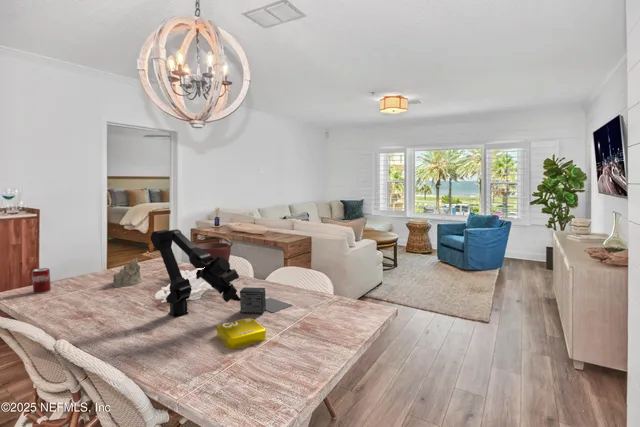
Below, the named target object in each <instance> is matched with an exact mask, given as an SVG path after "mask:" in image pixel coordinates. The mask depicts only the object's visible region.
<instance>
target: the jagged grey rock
mask: <svg viewBox="0 0 640 427" xmlns="http://www.w3.org/2000/svg"><path fill="white" fill-rule="evenodd" d="M134 258H135V259H132V260H131V261H130V262H131V263H125V264H124V266H123V269H122V268H121V269H120V270H119V272H115V273H114V274H113V279H112V280H113V284H112V287H114V288H121V287H122V288H123V287H124V288H125V287H132V286H135V285H140V284H142V283H143V282H144V281H143V278H142V275H141V273H140V271H141V266H140V265H139V264H138V262H139V261H138V257H134Z"/></svg>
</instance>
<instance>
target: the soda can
mask: <svg viewBox="0 0 640 427" xmlns="http://www.w3.org/2000/svg"><path fill="white" fill-rule="evenodd" d="M31 278H32V280H31V281H32V292H33V294H36V295H41V294H45V293H49V292H50V291H51V290H52V289H51V288H52V287H51V272H50V268H48V267H42V268H36V269H33V270H32V271H31Z"/></svg>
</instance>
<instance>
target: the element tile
mask: <svg viewBox="0 0 640 427" xmlns="http://www.w3.org/2000/svg"><path fill="white" fill-rule="evenodd" d="M216 337H217V338H218V339H219V340H220V342H222V344H224V345H225V347H226V348H227V349H229V350H233V349H239V348H242V347H246V346H249V345H252V344H256V342H257V343H260V342H262V341H265V340H266V337H267V336H266V328H265V327H264V326H263V325H261V324H260V323H259V322H257V321H256V320H255V319H254V318H252V317H247V318H242V319H238V320H234V321H233V320H232V321H229V322H224V323H220V324H218V325H217V326H216Z"/></svg>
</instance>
